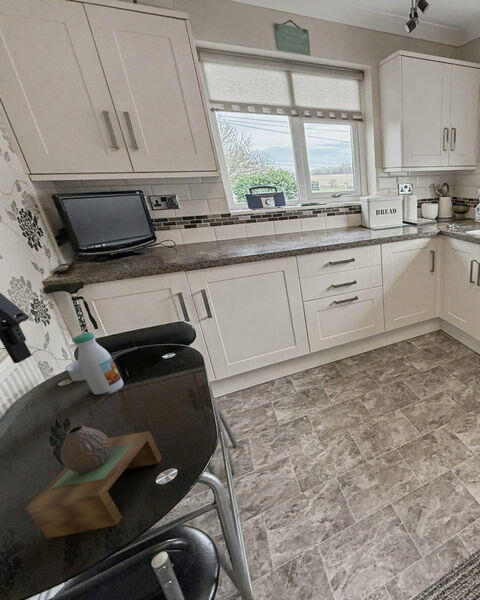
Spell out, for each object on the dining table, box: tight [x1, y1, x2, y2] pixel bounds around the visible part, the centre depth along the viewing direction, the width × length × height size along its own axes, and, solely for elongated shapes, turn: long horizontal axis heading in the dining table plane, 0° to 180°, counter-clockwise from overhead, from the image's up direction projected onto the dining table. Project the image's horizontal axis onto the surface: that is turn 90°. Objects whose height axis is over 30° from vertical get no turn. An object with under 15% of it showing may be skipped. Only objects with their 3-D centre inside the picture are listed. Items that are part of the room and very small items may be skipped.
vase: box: [60, 424, 111, 473], centre depth 64 cm, size 7×7×9 cm
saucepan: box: [64, 346, 137, 382], centre depth 119 cm, size 12×20×6 cm, turn 126°
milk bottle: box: [73, 332, 124, 396], centre depth 103 cm, size 8×8×20 cm
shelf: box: [24, 430, 163, 540], centre depth 67 cm, size 12×16×8 cm
